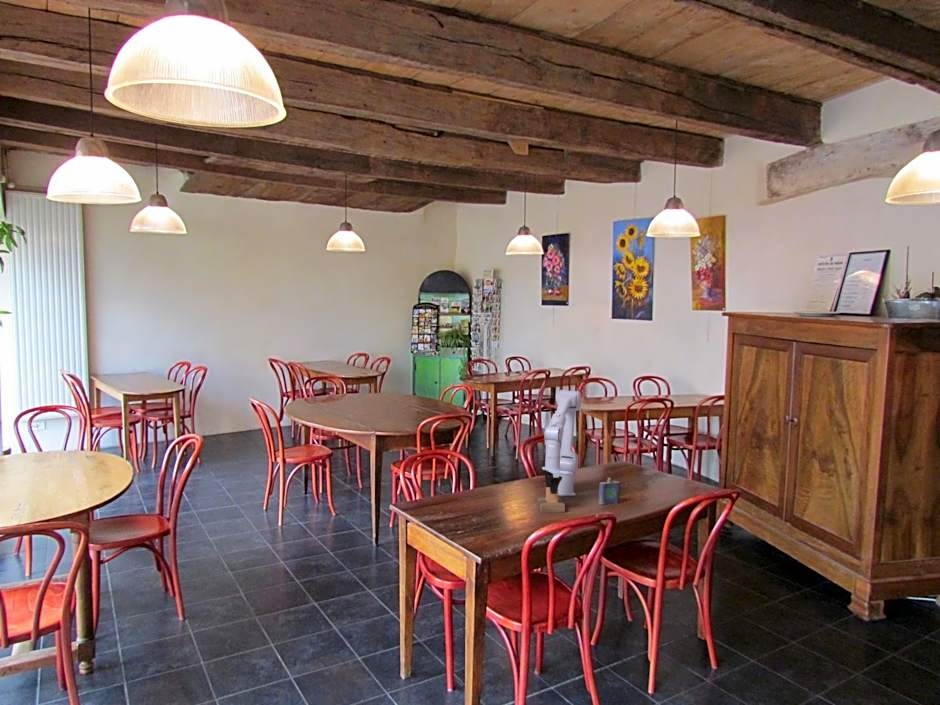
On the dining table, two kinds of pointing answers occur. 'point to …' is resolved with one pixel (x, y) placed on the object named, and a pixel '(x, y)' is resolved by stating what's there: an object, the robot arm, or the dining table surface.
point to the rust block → (551, 496)
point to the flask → (609, 492)
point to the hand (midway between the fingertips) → (551, 490)
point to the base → (551, 505)
